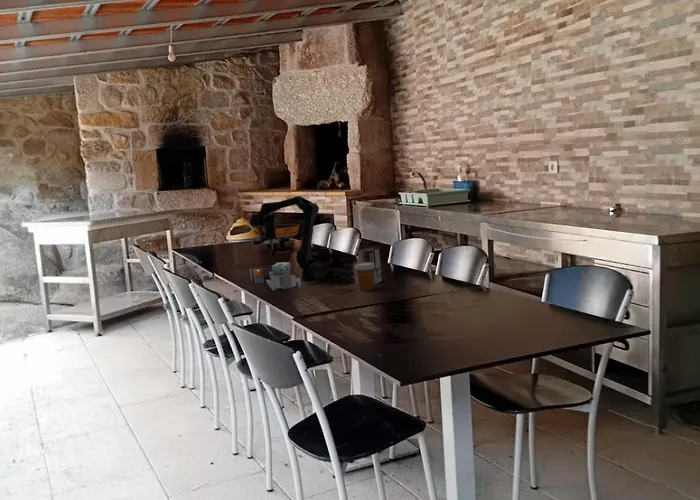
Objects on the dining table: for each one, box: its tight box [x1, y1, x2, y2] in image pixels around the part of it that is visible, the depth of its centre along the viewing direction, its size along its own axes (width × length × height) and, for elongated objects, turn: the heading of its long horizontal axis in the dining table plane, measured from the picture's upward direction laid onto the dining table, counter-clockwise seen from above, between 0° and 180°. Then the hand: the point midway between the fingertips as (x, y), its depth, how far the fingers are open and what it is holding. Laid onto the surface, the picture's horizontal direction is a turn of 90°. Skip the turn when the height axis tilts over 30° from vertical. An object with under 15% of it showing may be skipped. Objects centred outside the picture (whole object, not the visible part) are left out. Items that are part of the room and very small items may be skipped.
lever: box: [252, 268, 264, 277], centre depth 339 cm, size 4×10×4 cm, turn 16°
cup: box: [254, 223, 304, 254], centre depth 443 cm, size 36×26×18 cm
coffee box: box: [357, 248, 383, 284], centre depth 317 cm, size 9×6×16 cm
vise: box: [249, 267, 302, 292], centre depth 330 cm, size 20×33×6 cm, turn 16°
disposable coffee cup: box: [354, 262, 375, 292], centre depth 301 cm, size 10×10×12 cm
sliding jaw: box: [269, 269, 302, 290], centre depth 317 cm, size 15×7×9 cm, turn 106°
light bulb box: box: [271, 261, 292, 286], centre depth 326 cm, size 11×7×11 cm, turn 169°
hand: (272, 256), depth 344 cm, fingers closed
